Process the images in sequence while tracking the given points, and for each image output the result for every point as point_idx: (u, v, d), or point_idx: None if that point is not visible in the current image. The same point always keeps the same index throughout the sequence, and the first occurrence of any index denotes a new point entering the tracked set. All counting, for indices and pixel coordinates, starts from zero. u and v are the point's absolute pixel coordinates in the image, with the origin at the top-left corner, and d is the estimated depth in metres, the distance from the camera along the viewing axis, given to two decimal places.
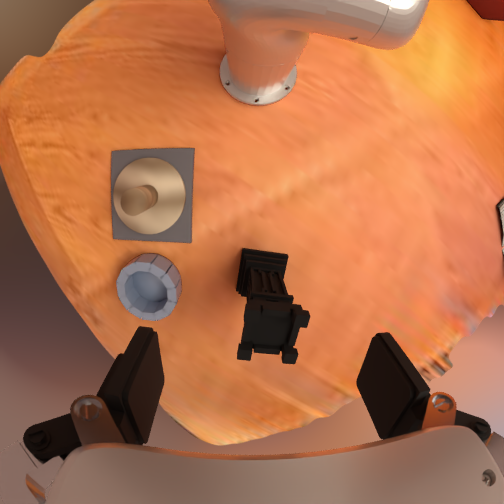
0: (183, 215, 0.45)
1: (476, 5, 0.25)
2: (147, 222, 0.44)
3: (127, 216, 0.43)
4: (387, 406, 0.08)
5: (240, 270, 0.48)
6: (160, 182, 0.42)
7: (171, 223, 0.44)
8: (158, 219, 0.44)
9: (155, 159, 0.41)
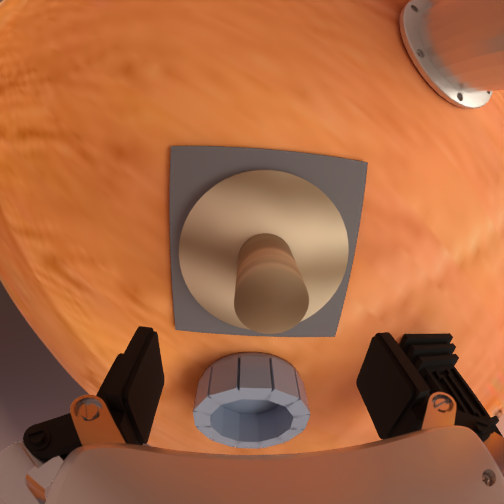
0: None
1: None
2: None
3: (214, 297, 0.22)
4: (387, 406, 0.08)
5: None
6: (300, 230, 0.20)
7: (312, 311, 0.22)
8: None
9: (291, 177, 0.18)
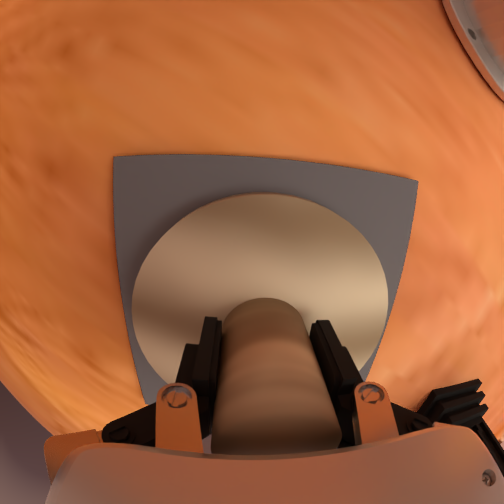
0: None
1: None
2: None
3: None
4: None
5: None
6: (319, 291, 0.12)
7: None
8: None
9: (308, 206, 0.11)
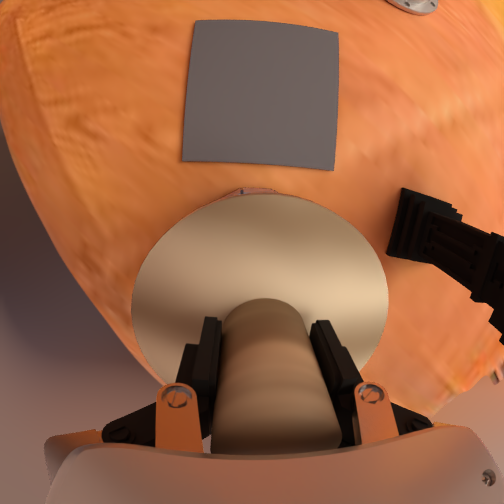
0: (324, 123, 0.24)
1: None
2: None
3: None
4: None
5: (399, 222, 0.28)
6: (319, 292, 0.12)
7: None
8: None
9: (308, 206, 0.11)
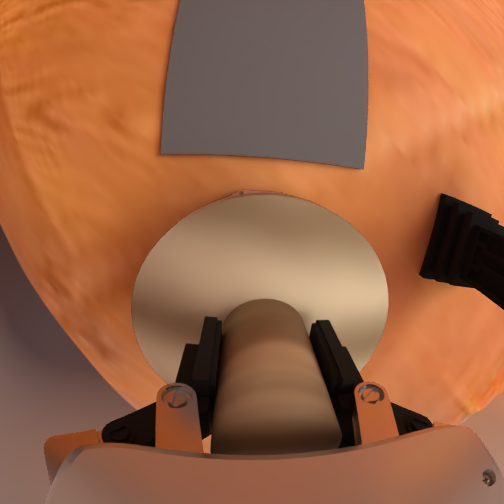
0: (351, 106, 0.17)
1: None
2: None
3: None
4: None
5: (438, 236, 0.21)
6: (319, 292, 0.12)
7: None
8: None
9: (308, 206, 0.11)
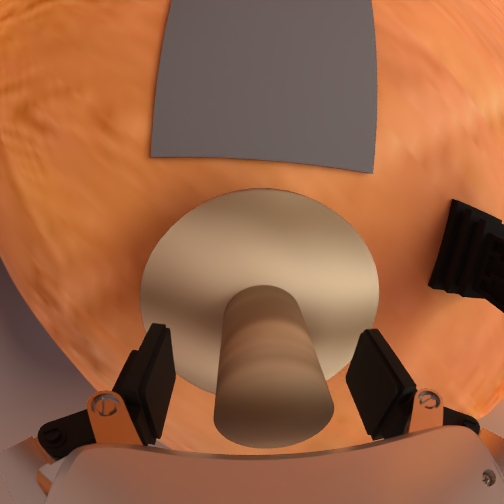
0: (359, 104, 0.16)
1: None
2: None
3: (193, 365, 0.15)
4: (374, 402, 0.08)
5: (448, 244, 0.19)
6: (313, 280, 0.13)
7: (324, 378, 0.16)
8: None
9: (302, 200, 0.12)
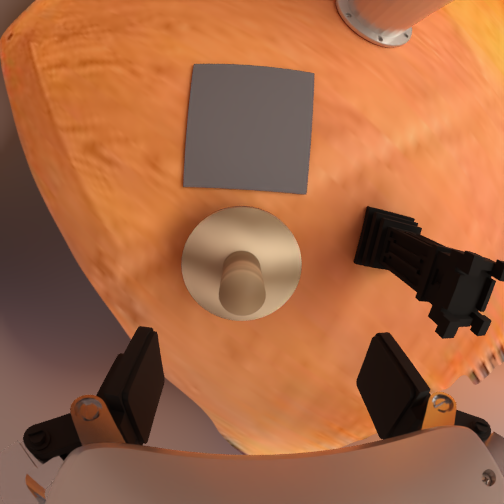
0: (298, 155, 0.31)
1: None
2: None
3: (206, 295, 0.30)
4: (387, 406, 0.08)
5: (364, 235, 0.35)
6: (265, 248, 0.29)
7: (277, 306, 0.31)
8: None
9: (258, 211, 0.28)
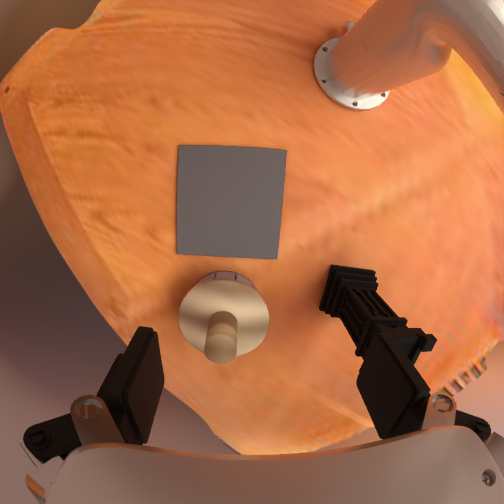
0: (270, 228, 0.40)
1: None
2: None
3: (197, 340, 0.39)
4: (387, 406, 0.08)
5: (327, 288, 0.43)
6: (240, 309, 0.37)
7: (251, 348, 0.39)
8: (236, 345, 0.39)
9: (234, 284, 0.36)
